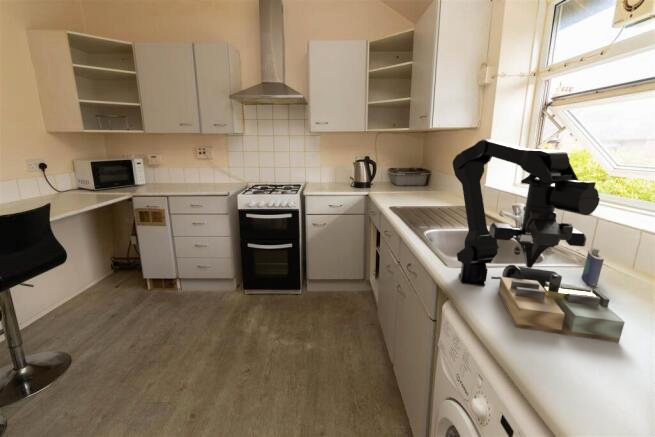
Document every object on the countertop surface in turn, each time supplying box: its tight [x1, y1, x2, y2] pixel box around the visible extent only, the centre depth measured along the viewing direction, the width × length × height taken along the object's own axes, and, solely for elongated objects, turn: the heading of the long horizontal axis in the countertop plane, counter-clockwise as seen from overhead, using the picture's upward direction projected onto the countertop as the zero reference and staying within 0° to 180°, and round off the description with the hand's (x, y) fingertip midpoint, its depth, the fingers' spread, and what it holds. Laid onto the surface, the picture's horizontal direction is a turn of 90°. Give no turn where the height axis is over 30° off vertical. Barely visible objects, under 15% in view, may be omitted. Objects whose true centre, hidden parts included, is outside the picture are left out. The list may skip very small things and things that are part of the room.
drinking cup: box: [490, 264, 558, 288], centre depth 90 cm, size 8×8×20 cm
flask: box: [581, 247, 605, 288], centre depth 95 cm, size 9×3×11 cm, turn 151°
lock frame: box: [497, 276, 626, 343], centre depth 77 cm, size 20×17×7 cm
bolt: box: [544, 273, 595, 300], centre depth 75 cm, size 10×2×5 cm, turn 75°
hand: (528, 267), depth 77 cm, fingers closed
